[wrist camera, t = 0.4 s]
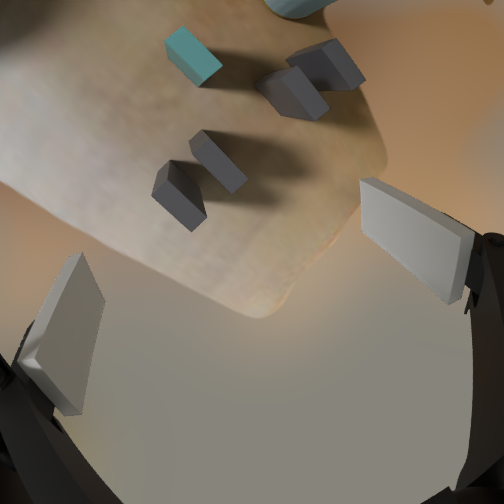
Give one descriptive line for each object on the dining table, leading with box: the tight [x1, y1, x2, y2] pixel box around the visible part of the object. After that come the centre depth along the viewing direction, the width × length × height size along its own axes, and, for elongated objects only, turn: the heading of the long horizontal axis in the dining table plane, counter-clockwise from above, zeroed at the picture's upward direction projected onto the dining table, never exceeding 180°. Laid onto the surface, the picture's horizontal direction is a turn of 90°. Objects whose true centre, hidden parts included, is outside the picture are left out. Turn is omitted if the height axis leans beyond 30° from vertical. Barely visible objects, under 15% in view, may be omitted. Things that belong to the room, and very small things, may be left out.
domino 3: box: [151, 160, 207, 232], centre depth 31 cm, size 2×5×10 cm, turn 41°
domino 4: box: [254, 66, 330, 121], centre depth 29 cm, size 2×5×10 cm, turn 41°
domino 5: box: [286, 38, 366, 91], centre depth 28 cm, size 2×5×10 cm, turn 41°
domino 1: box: [164, 26, 223, 87], centre depth 25 cm, size 2×5×10 cm, turn 41°
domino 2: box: [189, 129, 248, 194], centre depth 30 cm, size 2×5×10 cm, turn 41°
